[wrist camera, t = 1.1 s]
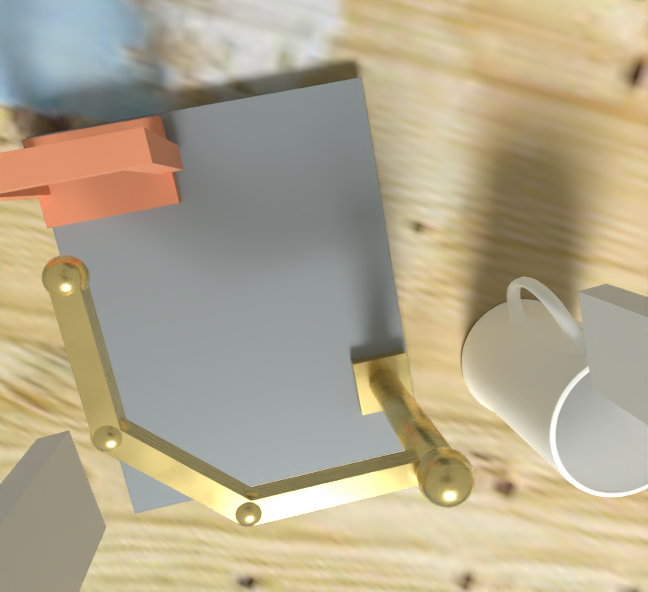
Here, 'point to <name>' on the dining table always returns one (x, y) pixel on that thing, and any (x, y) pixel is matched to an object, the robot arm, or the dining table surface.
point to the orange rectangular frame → (94, 171)
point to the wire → (222, 489)
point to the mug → (553, 392)
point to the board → (251, 290)
